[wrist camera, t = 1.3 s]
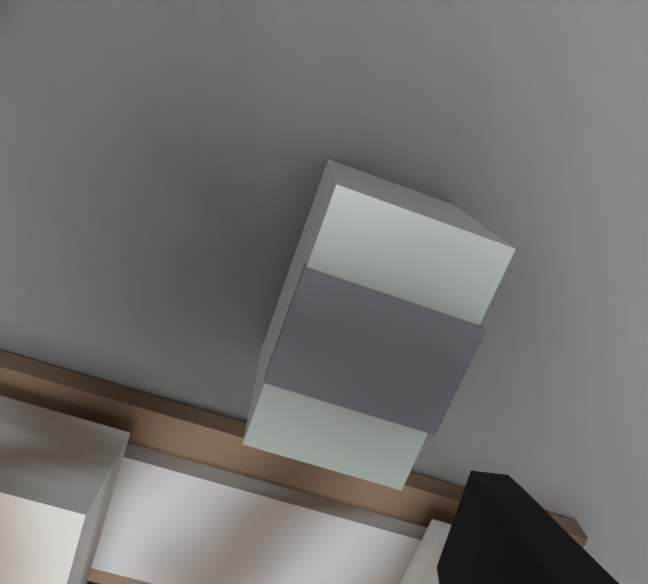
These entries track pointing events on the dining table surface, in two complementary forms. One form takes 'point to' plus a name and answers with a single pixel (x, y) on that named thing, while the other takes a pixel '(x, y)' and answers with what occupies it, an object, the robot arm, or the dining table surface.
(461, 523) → the robot arm
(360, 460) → the block
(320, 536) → the board
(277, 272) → the dining table surface
